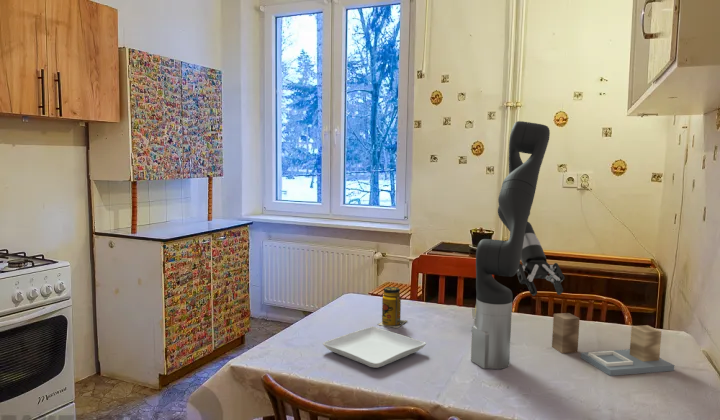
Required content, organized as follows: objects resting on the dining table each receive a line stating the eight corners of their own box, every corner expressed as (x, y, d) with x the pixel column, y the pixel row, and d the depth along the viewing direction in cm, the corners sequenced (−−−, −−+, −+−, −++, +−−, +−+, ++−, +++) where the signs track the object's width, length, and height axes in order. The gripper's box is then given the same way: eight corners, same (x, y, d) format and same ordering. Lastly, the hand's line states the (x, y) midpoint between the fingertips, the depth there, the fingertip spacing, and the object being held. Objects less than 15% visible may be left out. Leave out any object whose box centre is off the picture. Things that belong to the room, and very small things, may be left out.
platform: (494, 321, 175) (495, 302, 174) (498, 338, 157) (499, 318, 157) (459, 318, 177) (459, 299, 177) (458, 335, 160) (459, 315, 159)
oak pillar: (643, 361, 136) (645, 332, 135) (629, 354, 141) (631, 326, 140) (659, 360, 137) (661, 331, 136) (645, 353, 142) (647, 325, 141)
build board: (610, 375, 130) (610, 367, 130) (580, 357, 142) (581, 349, 142) (674, 370, 134) (674, 362, 134) (640, 353, 146) (641, 345, 145)
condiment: (377, 325, 168) (377, 289, 166) (387, 318, 175) (388, 283, 174) (397, 328, 164) (398, 292, 163) (407, 321, 172) (408, 286, 171)
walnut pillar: (561, 353, 145) (563, 319, 144) (551, 347, 150) (553, 313, 149) (577, 352, 146) (579, 318, 145) (567, 346, 151) (569, 312, 150)
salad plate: (320, 353, 143) (320, 341, 143) (372, 335, 158) (372, 324, 158) (376, 376, 128) (376, 363, 128) (427, 354, 144) (427, 342, 143)
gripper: (514, 244, 162) (531, 288, 152) (554, 243, 165) (574, 286, 155) (505, 257, 168) (521, 301, 158) (544, 256, 171) (563, 299, 161)
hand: (547, 294), depth 156 cm, fingers open, 8 cm apart
